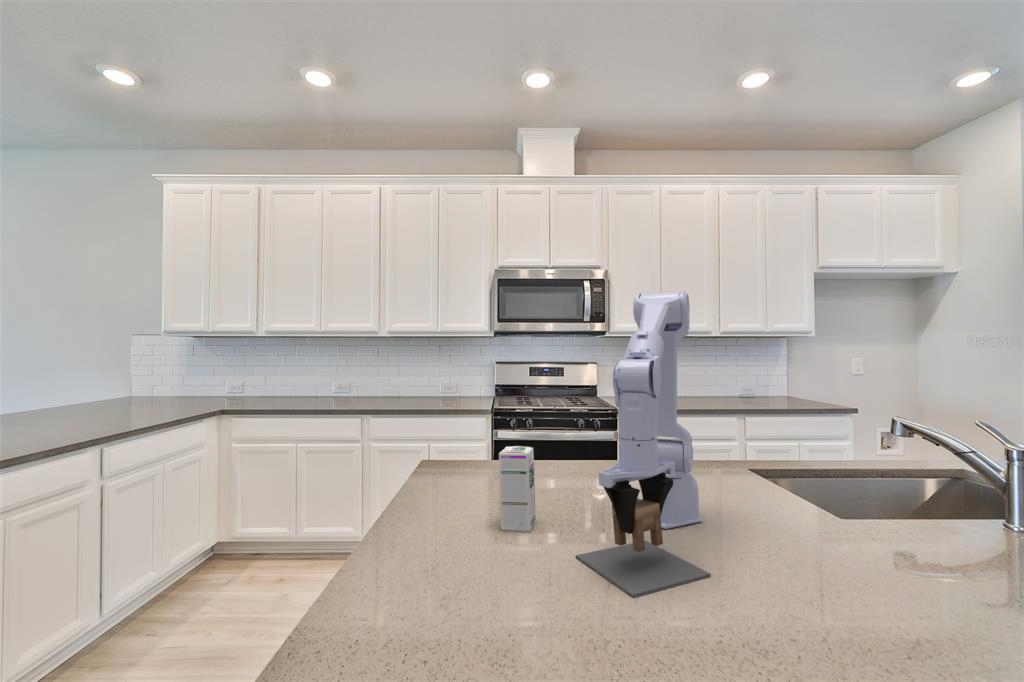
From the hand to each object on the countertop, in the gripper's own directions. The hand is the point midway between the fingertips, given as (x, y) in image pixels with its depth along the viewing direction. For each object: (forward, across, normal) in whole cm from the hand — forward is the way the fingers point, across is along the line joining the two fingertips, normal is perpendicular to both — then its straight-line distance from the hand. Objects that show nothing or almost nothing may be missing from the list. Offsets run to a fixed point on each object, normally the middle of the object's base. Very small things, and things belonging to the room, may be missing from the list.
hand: (639, 527), depth 73 cm
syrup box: (+6, +6, -25) cm, 26 cm away
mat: (+6, 0, 0) cm, 6 cm away
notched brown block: (+2, 0, 0) cm, 3 cm away
